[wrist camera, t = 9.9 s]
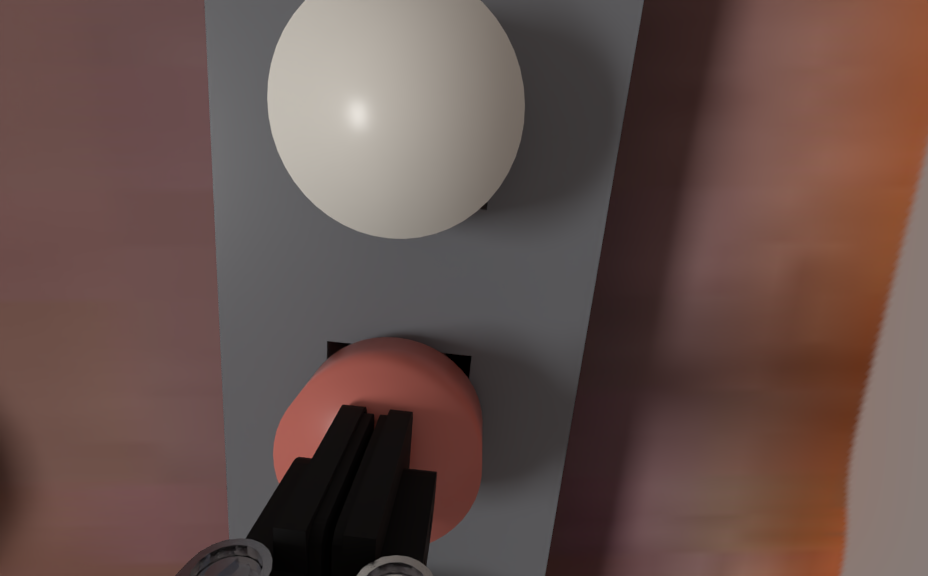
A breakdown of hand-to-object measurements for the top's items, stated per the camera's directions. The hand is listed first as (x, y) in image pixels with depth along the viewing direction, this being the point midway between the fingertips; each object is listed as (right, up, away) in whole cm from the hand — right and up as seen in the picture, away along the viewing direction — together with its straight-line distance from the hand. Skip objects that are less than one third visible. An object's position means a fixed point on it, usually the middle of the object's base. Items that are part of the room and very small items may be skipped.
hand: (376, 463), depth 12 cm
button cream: (+1, +9, +3) cm, 9 cm away
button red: (0, +1, +5) cm, 5 cm away
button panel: (0, +1, +5) cm, 6 cm away
